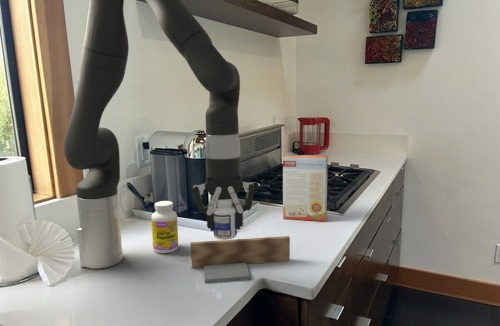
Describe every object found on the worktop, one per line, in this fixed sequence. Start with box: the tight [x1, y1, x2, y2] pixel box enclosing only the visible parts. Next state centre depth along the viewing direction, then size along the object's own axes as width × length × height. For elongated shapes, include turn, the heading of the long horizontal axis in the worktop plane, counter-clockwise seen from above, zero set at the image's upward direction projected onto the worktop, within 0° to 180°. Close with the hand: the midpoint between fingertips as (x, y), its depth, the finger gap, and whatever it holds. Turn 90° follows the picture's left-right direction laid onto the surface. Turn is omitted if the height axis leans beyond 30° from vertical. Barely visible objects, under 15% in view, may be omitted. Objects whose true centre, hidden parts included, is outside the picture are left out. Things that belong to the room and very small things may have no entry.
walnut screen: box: [190, 235, 291, 269], centre depth 91 cm, size 24×1×6 cm, turn 98°
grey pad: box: [203, 263, 251, 284], centre depth 87 cm, size 10×7×1 cm
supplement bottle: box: [151, 200, 179, 254], centre depth 100 cm, size 7×7×13 cm
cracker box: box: [282, 154, 328, 222], centre depth 124 cm, size 14×6×21 cm, turn 74°
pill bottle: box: [213, 199, 238, 240], centre depth 84 cm, size 5×5×9 cm
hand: (225, 228), depth 85 cm, fingers closed on pill bottle, 5 cm apart
